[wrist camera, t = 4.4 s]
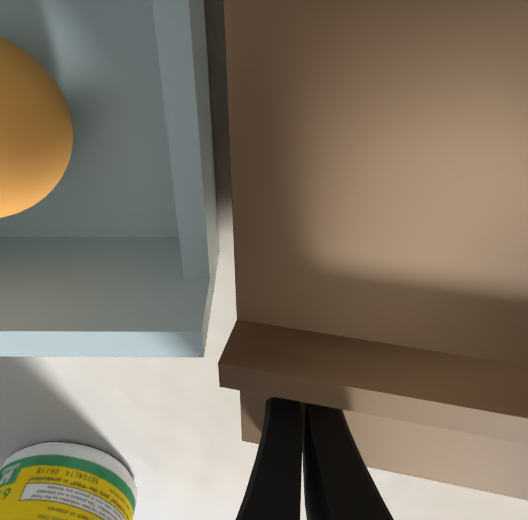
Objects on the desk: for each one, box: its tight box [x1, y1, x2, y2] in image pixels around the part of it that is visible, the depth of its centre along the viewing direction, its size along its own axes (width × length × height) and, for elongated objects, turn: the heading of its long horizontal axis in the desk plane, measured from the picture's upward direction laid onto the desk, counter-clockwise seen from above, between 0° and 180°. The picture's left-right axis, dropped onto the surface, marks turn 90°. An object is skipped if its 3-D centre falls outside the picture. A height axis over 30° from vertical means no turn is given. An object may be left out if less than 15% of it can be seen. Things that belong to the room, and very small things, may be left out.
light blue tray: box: [0, 0, 219, 357], centre depth 10 cm, size 7×8×4 cm
